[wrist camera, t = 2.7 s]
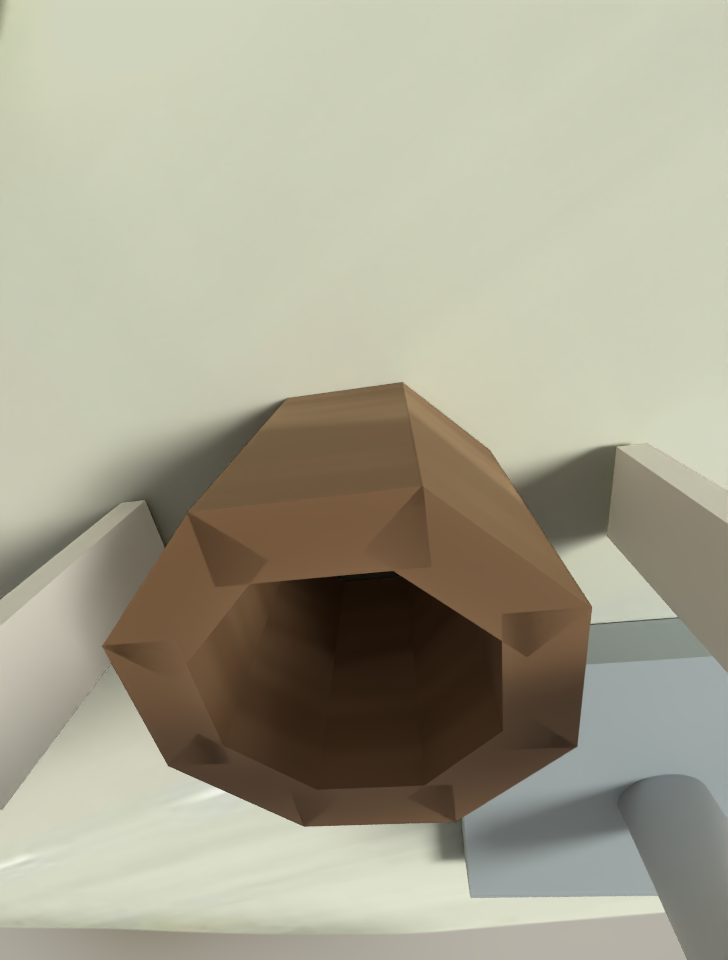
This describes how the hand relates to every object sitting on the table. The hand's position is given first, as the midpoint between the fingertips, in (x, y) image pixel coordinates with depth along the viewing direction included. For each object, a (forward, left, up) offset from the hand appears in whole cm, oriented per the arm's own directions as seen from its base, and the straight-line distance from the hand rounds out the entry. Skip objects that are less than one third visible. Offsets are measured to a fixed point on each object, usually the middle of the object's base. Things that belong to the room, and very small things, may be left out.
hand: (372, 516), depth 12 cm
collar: (0, 0, 0) cm, 0 cm away
